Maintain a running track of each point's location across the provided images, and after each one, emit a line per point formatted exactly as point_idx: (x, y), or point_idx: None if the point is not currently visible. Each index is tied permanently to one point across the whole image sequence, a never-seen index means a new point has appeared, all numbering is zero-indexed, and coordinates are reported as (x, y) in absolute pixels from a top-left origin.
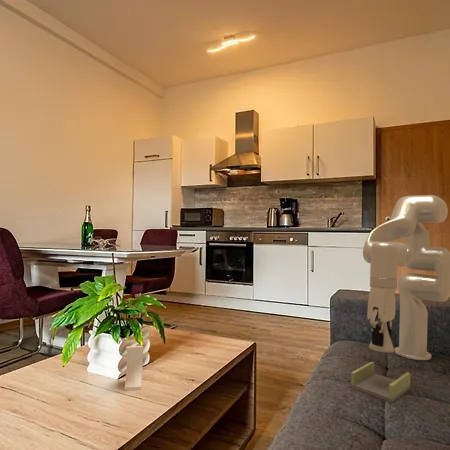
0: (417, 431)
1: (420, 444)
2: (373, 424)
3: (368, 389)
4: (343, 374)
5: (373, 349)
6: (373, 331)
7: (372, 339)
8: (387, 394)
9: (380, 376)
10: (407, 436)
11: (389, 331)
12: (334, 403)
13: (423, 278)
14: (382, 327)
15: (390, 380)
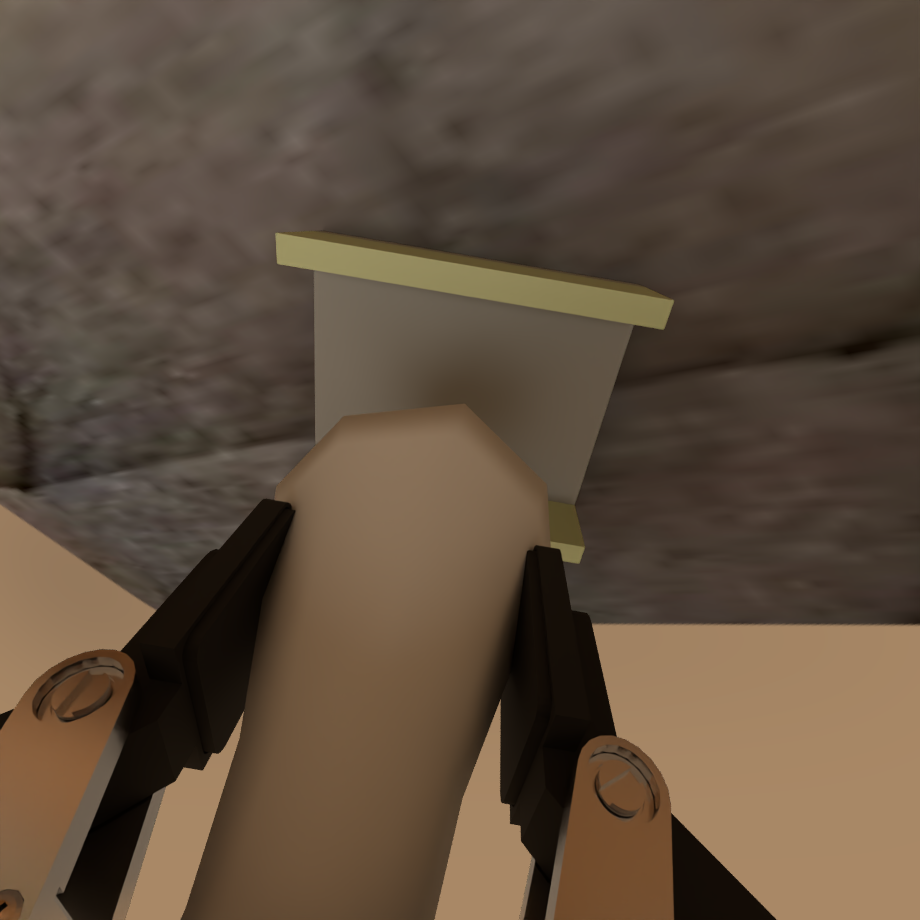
0: (175, 563)
1: (108, 574)
2: (67, 441)
3: (327, 353)
4: (522, 77)
5: (282, 484)
6: (102, 668)
7: (232, 539)
8: None
9: (597, 365)
10: (113, 543)
11: (501, 778)
12: (46, 226)
13: None
14: (105, 881)
15: (565, 428)
